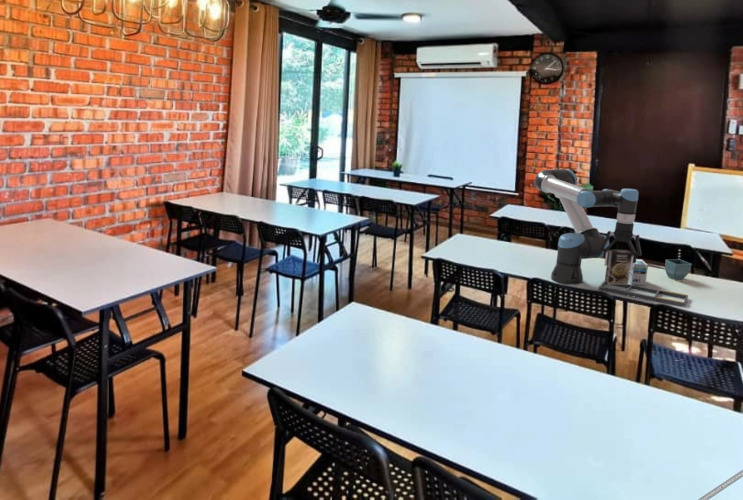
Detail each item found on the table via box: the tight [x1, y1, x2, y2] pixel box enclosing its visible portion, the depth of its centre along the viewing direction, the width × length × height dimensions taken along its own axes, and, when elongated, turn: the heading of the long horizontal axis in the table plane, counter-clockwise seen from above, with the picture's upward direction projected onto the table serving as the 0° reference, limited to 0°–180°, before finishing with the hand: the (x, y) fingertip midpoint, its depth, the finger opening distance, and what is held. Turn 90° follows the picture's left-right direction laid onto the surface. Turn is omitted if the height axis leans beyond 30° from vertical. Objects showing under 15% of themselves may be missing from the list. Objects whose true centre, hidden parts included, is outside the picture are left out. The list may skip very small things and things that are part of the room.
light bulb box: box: [628, 258, 649, 286], centre depth 267 cm, size 11×7×11 cm, turn 168°
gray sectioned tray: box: [598, 280, 689, 308], centre depth 249 cm, size 36×13×2 cm, turn 56°
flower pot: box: [664, 259, 692, 280], centre depth 274 cm, size 9×9×9 cm
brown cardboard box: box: [604, 248, 633, 286], centre depth 253 cm, size 9×6×16 cm
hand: (618, 267), depth 254 cm, fingers closed on brown cardboard box, 10 cm apart
